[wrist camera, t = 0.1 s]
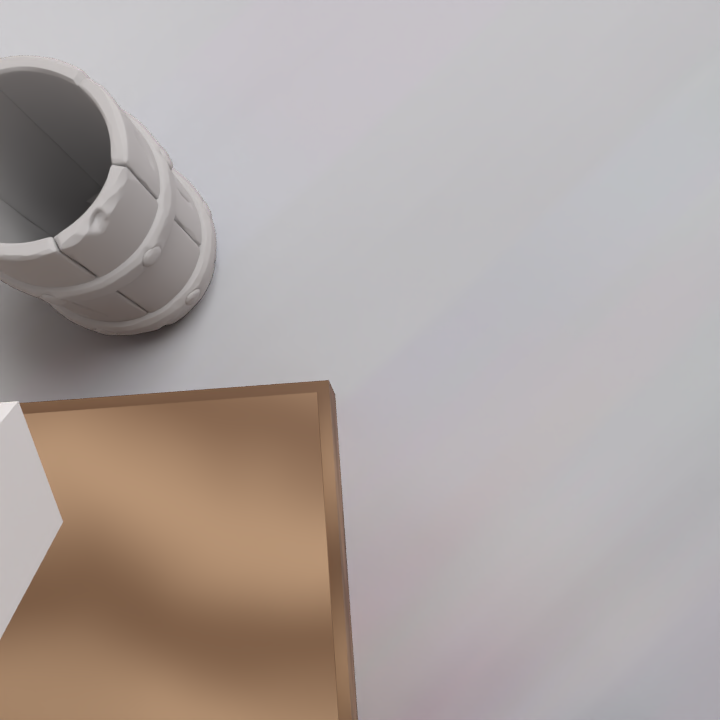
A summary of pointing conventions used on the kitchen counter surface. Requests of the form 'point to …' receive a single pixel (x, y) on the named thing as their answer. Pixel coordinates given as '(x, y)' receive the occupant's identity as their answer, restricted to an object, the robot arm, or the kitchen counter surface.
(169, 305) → the mug
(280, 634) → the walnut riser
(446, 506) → the kitchen counter surface
